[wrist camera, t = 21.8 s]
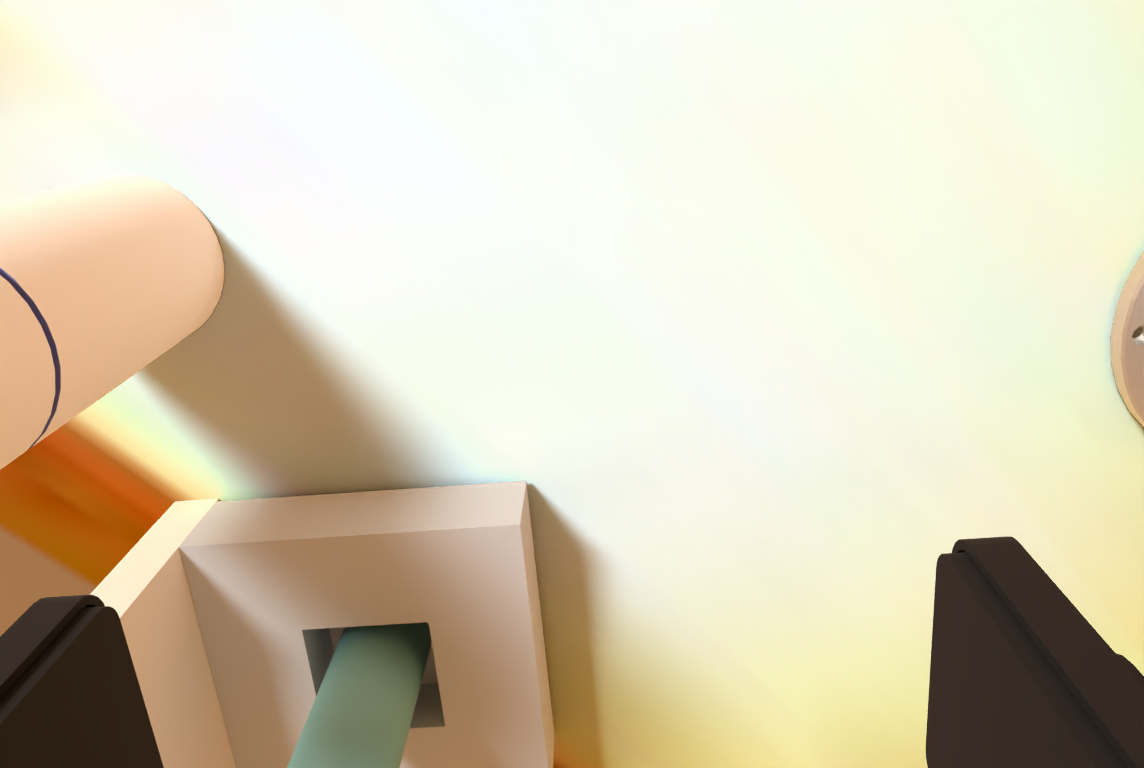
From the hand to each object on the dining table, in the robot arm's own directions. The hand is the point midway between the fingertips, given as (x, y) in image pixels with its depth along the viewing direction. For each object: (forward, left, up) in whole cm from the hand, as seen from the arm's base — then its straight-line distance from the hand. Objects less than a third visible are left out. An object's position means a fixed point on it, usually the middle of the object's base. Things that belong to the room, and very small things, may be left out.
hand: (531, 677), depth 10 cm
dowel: (+10, +18, -27) cm, 34 cm away
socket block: (+10, +18, -28) cm, 35 cm away
